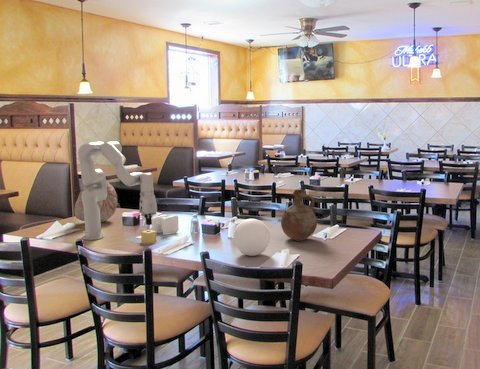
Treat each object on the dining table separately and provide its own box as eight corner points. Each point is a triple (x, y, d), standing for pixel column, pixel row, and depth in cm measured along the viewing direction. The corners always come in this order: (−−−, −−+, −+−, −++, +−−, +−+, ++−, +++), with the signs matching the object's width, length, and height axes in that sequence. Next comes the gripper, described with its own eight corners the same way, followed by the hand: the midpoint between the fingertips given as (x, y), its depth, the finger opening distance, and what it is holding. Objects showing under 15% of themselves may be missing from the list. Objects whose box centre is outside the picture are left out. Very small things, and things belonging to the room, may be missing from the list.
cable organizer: (163, 237, 320) (163, 219, 319) (151, 235, 326) (150, 217, 324) (178, 232, 333) (178, 214, 331) (166, 230, 338) (165, 213, 337)
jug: (279, 235, 321) (279, 188, 317) (313, 234, 321) (314, 187, 317) (282, 244, 299) (282, 193, 295) (319, 243, 300) (319, 193, 295)
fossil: (115, 217, 383) (113, 177, 379) (122, 224, 360) (120, 181, 356) (72, 221, 371) (69, 180, 367) (76, 228, 347) (73, 185, 343)
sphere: (253, 248, 292) (252, 213, 289) (278, 255, 277) (278, 219, 274) (226, 255, 279) (225, 219, 276) (250, 262, 264) (250, 224, 261)
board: (123, 241, 310) (123, 233, 309) (145, 236, 324) (145, 227, 323) (148, 247, 297) (148, 238, 296) (170, 240, 311) (170, 232, 310)
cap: (141, 242, 304) (140, 231, 303) (149, 239, 309) (148, 229, 308) (148, 243, 301) (148, 232, 300) (156, 241, 306) (156, 230, 305)
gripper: (141, 196, 293) (143, 227, 295) (161, 192, 304) (162, 222, 307) (133, 195, 297) (135, 226, 300) (152, 191, 309) (153, 221, 311)
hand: (148, 224), depth 303 cm, fingers closed
